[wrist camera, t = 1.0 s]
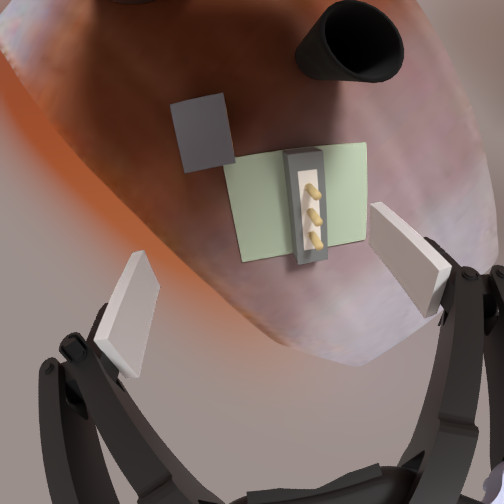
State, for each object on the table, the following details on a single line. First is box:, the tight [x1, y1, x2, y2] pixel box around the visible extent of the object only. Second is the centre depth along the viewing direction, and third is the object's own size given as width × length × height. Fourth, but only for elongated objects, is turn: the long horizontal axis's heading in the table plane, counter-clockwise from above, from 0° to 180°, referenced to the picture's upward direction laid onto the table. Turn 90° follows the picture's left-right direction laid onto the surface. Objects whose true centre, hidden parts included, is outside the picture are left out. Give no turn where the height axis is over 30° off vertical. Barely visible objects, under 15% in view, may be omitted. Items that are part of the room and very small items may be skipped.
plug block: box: [170, 93, 236, 173], centre depth 26 cm, size 7×5×6 cm
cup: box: [295, 0, 404, 83], centre depth 19 cm, size 8×8×12 cm
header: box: [223, 142, 367, 265], centre depth 31 cm, size 14×18×6 cm
